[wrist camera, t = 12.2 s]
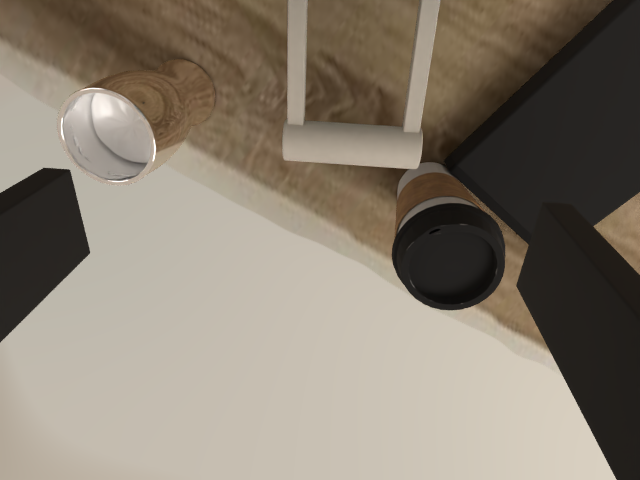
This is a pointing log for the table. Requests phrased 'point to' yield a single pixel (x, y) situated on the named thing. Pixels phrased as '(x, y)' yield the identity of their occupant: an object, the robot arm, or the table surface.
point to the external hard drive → (565, 130)
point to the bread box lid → (356, 139)
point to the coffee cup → (445, 241)
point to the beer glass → (134, 120)
